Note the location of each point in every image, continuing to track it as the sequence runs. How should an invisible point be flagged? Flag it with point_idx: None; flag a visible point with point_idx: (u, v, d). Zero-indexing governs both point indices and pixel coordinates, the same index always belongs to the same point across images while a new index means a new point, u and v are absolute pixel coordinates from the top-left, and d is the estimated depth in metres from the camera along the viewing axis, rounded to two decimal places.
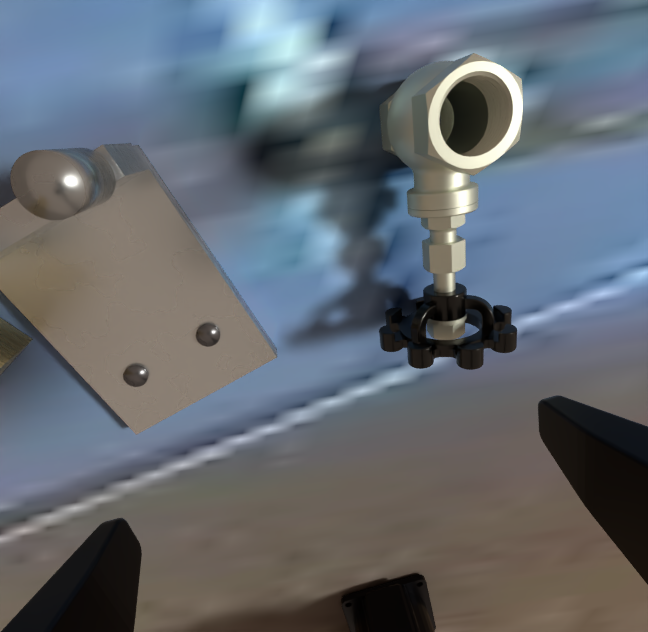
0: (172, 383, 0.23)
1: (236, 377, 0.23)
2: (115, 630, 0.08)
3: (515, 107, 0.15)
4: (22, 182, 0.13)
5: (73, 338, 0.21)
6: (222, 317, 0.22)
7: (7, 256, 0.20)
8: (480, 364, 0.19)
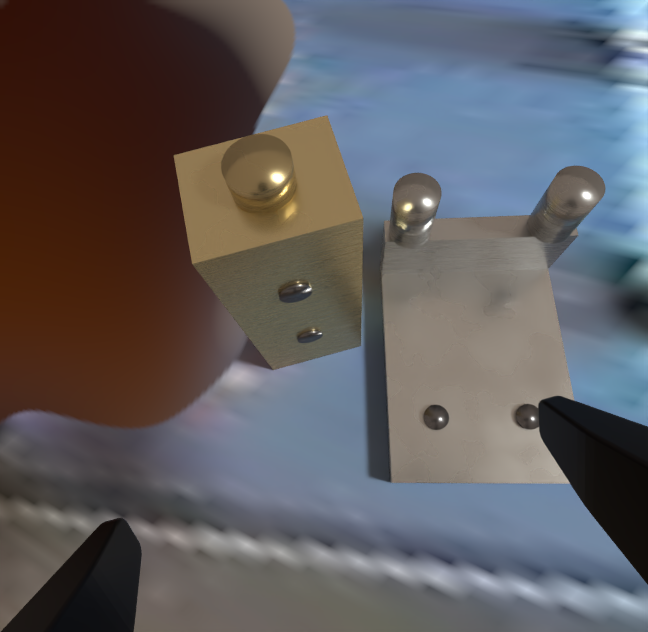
0: (464, 446, 0.21)
1: (534, 480, 0.20)
2: (115, 630, 0.08)
3: None
4: (564, 177, 0.18)
5: (406, 354, 0.23)
6: None
7: (406, 274, 0.24)
8: None
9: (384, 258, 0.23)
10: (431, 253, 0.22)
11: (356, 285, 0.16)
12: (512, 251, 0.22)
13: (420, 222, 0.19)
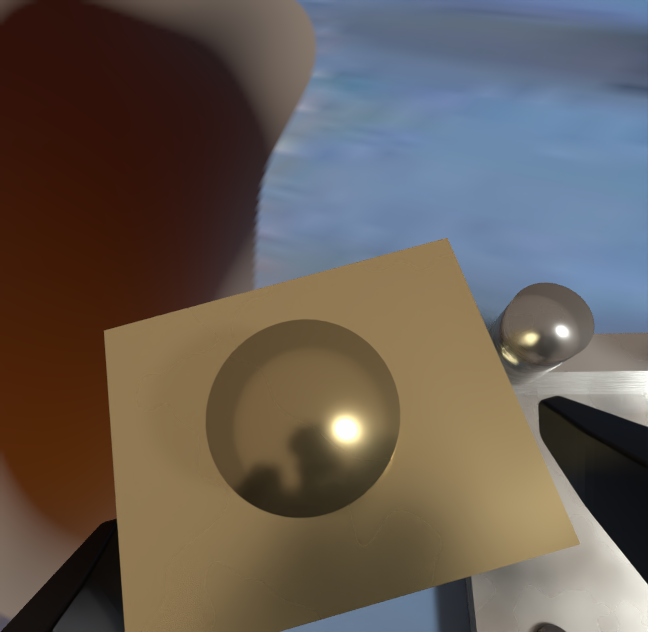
0: None
1: None
2: (115, 630, 0.08)
3: None
4: None
5: None
6: None
7: None
8: None
9: None
10: (539, 381, 0.14)
11: None
12: None
13: (551, 366, 0.11)
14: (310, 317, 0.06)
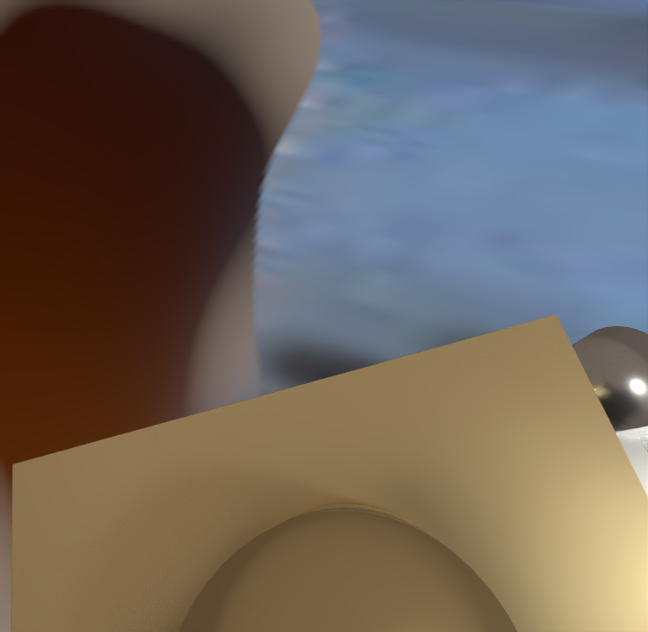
0: None
1: None
2: None
3: None
4: None
5: None
6: None
7: None
8: None
9: None
10: None
11: None
12: None
13: (625, 430, 0.09)
14: (343, 449, 0.04)
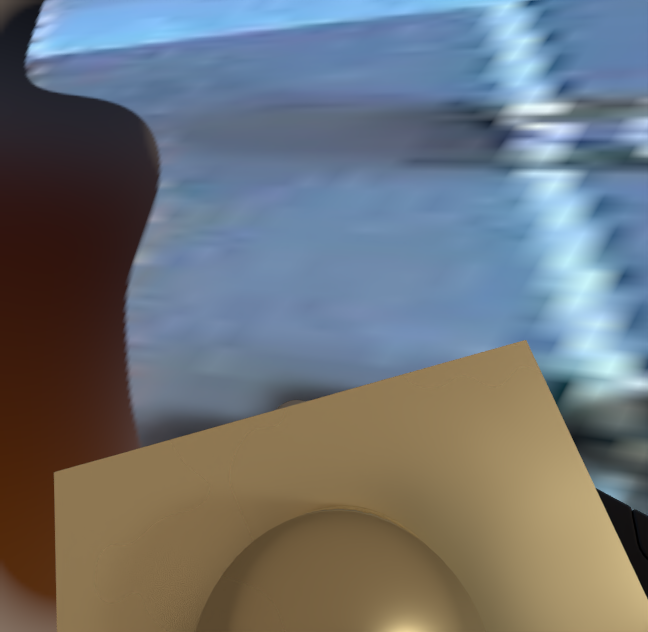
0: None
1: None
2: None
3: None
4: None
5: None
6: None
7: None
8: None
9: None
10: None
11: None
12: None
13: None
14: (339, 458, 0.04)
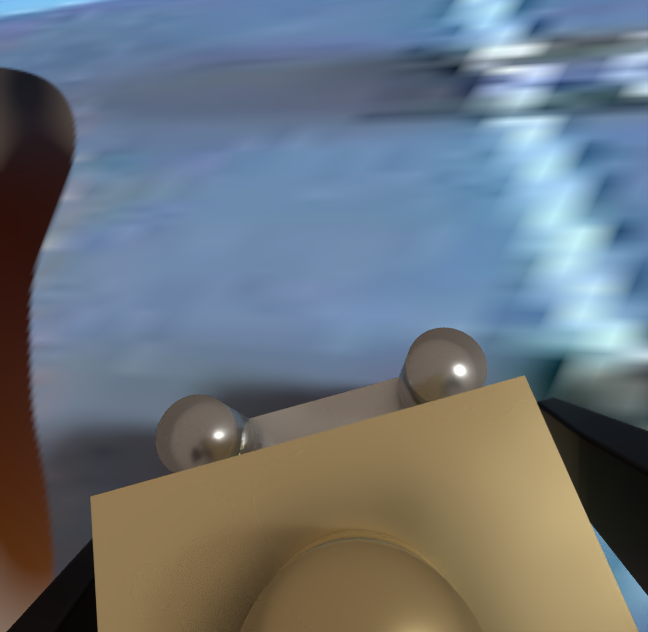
0: None
1: None
2: None
3: None
4: (421, 354, 0.11)
5: None
6: None
7: None
8: None
9: None
10: None
11: None
12: None
13: None
14: (354, 485, 0.05)
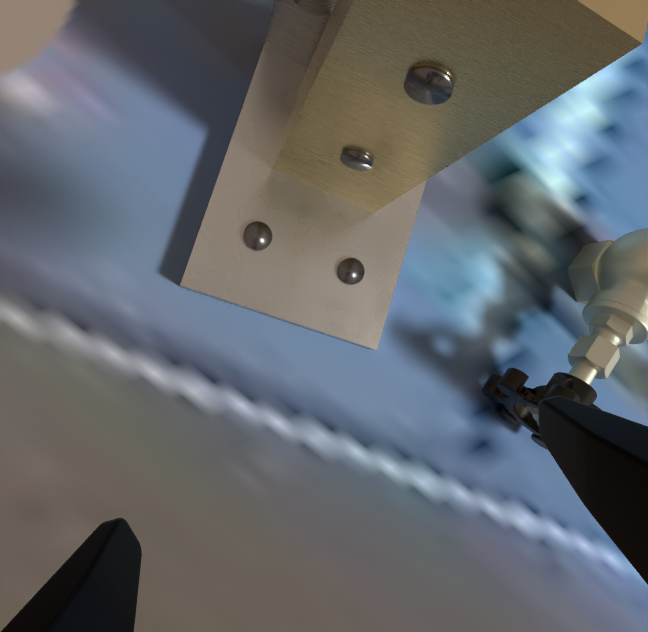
0: (274, 276, 0.19)
1: (327, 331, 0.19)
2: (115, 630, 0.08)
3: None
4: None
5: (253, 155, 0.18)
6: (374, 271, 0.20)
7: (292, 62, 0.19)
8: None
9: (271, 18, 0.17)
10: None
11: (481, 137, 0.12)
12: None
13: None
14: None
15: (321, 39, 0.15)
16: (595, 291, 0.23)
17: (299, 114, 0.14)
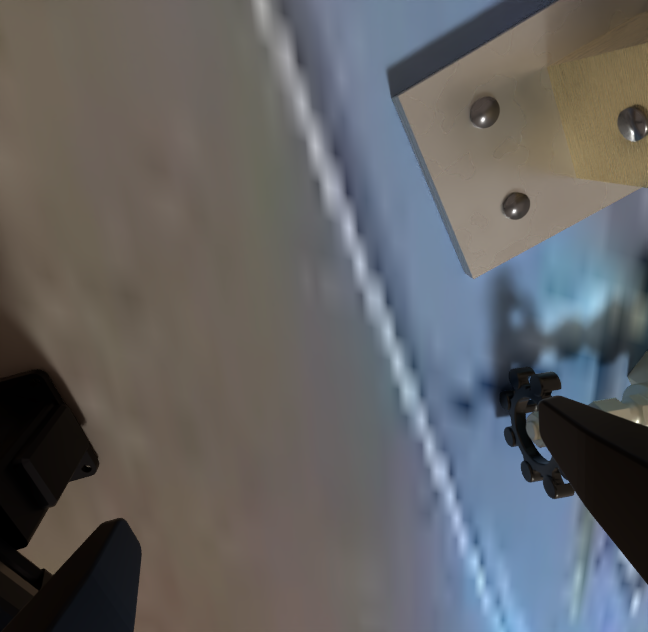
0: (464, 156, 0.19)
1: (457, 234, 0.20)
2: (115, 630, 0.08)
3: None
4: None
5: (546, 41, 0.17)
6: (530, 222, 0.20)
7: None
8: None
9: None
10: None
11: None
12: None
13: None
14: None
15: None
16: None
17: (645, 44, 0.13)
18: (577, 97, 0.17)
